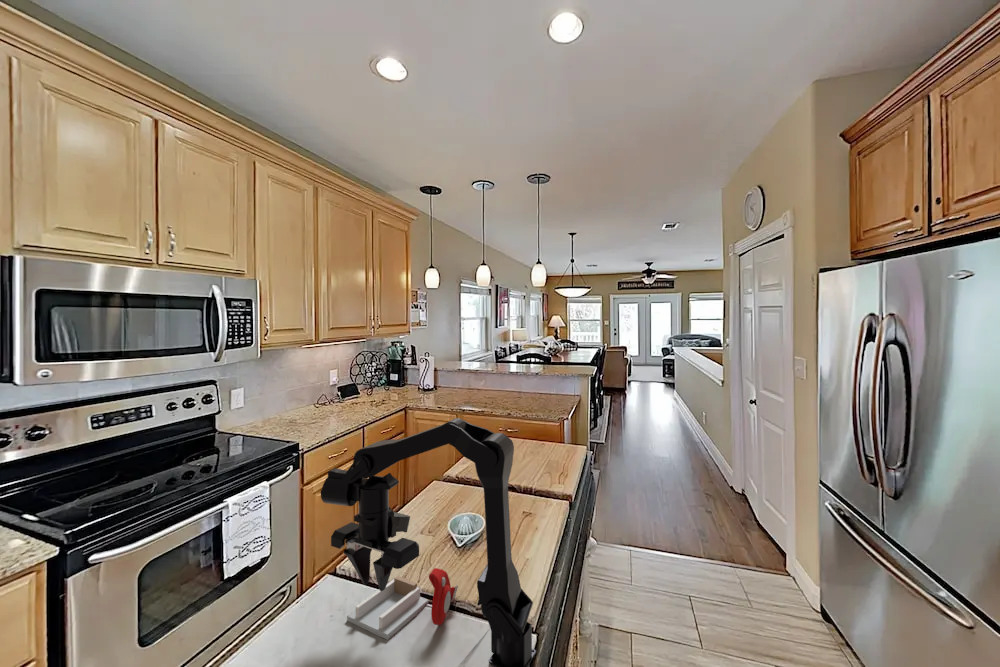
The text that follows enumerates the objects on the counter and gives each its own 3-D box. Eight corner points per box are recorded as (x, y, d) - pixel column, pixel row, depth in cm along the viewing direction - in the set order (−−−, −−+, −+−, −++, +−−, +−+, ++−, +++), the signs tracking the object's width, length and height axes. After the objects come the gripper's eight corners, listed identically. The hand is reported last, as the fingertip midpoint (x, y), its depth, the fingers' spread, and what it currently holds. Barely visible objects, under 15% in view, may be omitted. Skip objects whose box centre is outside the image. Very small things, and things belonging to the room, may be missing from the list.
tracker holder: (441, 638, 81) (440, 585, 81) (419, 634, 82) (419, 582, 82) (461, 599, 93) (461, 553, 93) (442, 596, 94) (442, 550, 94)
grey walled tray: (428, 604, 91) (428, 585, 91) (387, 639, 80) (387, 618, 80) (389, 589, 96) (389, 571, 96) (346, 620, 86) (346, 600, 86)
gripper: (436, 502, 87) (437, 579, 87) (370, 486, 96) (370, 556, 96) (398, 524, 77) (399, 610, 77) (328, 504, 87) (329, 581, 87)
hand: (374, 586), depth 85 cm, fingers open, 4 cm apart
